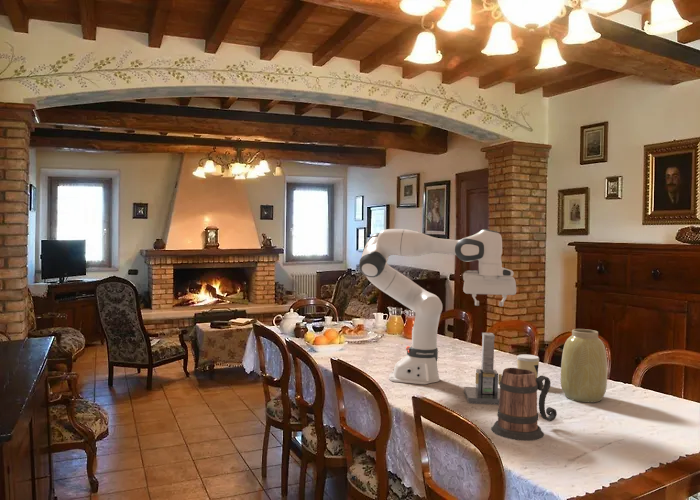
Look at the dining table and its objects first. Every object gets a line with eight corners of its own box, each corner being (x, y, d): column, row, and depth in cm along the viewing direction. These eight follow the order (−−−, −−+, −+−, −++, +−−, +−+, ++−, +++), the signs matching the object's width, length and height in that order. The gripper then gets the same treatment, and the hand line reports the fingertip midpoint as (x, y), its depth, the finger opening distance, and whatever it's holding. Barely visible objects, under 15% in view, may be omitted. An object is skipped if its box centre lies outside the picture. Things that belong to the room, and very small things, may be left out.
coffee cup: (539, 387, 241) (540, 359, 240) (517, 385, 243) (517, 358, 242) (537, 381, 250) (538, 354, 250) (515, 380, 252) (516, 353, 251)
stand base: (468, 403, 216) (469, 375, 216) (464, 391, 232) (464, 365, 232) (511, 405, 215) (511, 377, 214) (503, 393, 231) (504, 367, 230)
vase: (604, 394, 232) (606, 329, 231) (608, 406, 216) (610, 336, 215) (559, 389, 238) (561, 326, 237) (560, 401, 221) (562, 332, 221)
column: (482, 394, 221) (484, 335, 220) (480, 389, 227) (482, 332, 226) (493, 394, 220) (494, 335, 219) (490, 390, 226) (492, 332, 225)
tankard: (511, 443, 175) (513, 379, 175) (480, 425, 191) (482, 366, 191) (572, 435, 183) (573, 374, 183) (537, 418, 199) (539, 362, 199)
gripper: (464, 270, 220) (463, 305, 220) (517, 271, 218) (516, 307, 218) (462, 269, 226) (461, 303, 226) (514, 270, 224) (513, 305, 225)
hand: (489, 305), depth 222 cm, fingers open, 8 cm apart
